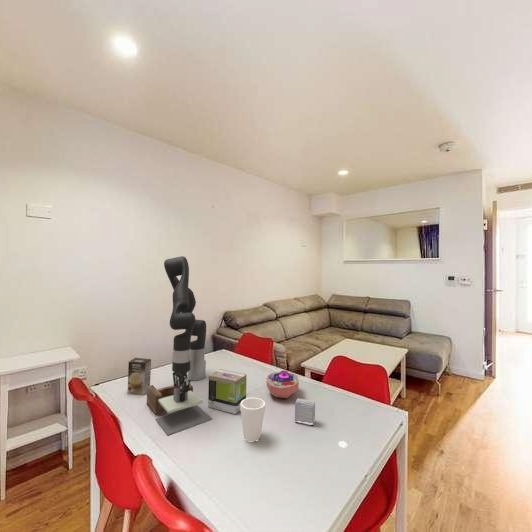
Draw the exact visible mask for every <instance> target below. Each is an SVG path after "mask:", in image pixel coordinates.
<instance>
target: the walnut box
mask: <svg viewBox="0 0 532 532" xmlns="http://www.w3.org/2000/svg"><path fill="white" fill-rule="evenodd" d="M182 385H183V384H182ZM174 388H176V387H174V384H172V385H169V386H165V387H161V388H160V387H159V388H156V387H155V386H154V385H151V384H150V386H147V393H146V406H147V407H148V409H149V410H150V411H151V412H152V414H153V415H154V416H156V417H157V416H160V415H162V414H166V413H168V412H167V411H166V410H165V409H164V408H163V407H162V405H161V404H160V403H159V402H158V399H162V398H165V397H169V396H172V395H174ZM188 391H192V392H193V393H194V386H193V385H192V384H191V383H190V386H189V389H188Z"/></svg>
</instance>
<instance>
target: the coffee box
mask: <svg viewBox="0 0 532 532" xmlns="http://www.w3.org/2000/svg"><path fill="white" fill-rule="evenodd" d="M151 370H152V359H151V358H144V357H143V358H142V357H141V358H140V357H133V359H131V360H130V361H128V370H127V373H128V374H127V394H131V395H139V396H140V395H141V396H145V395H147V386H151V372H152V371H151Z"/></svg>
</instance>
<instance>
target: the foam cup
mask: <svg viewBox="0 0 532 532" xmlns="http://www.w3.org/2000/svg"><path fill="white" fill-rule="evenodd" d="M265 411H266V402H265V400H263V399H261V398H260V397H246V399H244V400H242V401H241V403H240V415H241V417H240V418H241V424H242V433H243V434H242V435H243V440H244V439H246V440H247V441H256V440H258V439H259V438H260V439H261V436H262V435H261V434H262V428H263V421H264V415H265ZM247 441H246V442H247ZM258 441H259V440H258Z"/></svg>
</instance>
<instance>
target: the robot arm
mask: <svg viewBox="0 0 532 532" xmlns="http://www.w3.org/2000/svg"><path fill="white" fill-rule="evenodd" d="M163 265H164V267H163V268H164V270H165V272H166V275H167V278H168V280H169V282H170V285H171V287H172V290H173V292H172V312H171V315H170V317H169V319H170V320H169V326H170V329H171V330H174V331H178V330H180V331H181V330H185V331H184V332H182V333H179V334H177V335H175V336H174V337H173V350H172V364H171V366H172V367H171V370H172V378H173V380H172V381H173V385H174V387H176V388H178V387H179V388H180V400H179V401H180V402H183V401H185V393H186V392H188V389H189V386H190V384H191V381H200V380H203V379H204V378H206V371H207V370H206V367H207V361H206V359H205V358H206V357H205V354H206V351H205V349H206V348H205V346H206V337H207V323H206V321H205V320H204V319H196V316H195V314H194V313H193V311H194V310H195V307H196V304H197V301H196V297H195V294H194V291H193V290H192V289H191V288H190V287H189V284H190V283H189V282H190V281H189V280H190V278H189V277H190V265H189V262H188V259H187V257H186V256H182V255H181V256H177V257H173V258H172V257H170V258H167V259H165V260H164V262H163ZM178 276H179V277H180V278H178ZM192 336H193V337H197V338H196V339H195V340H193V341H192V339H191V338H192ZM182 384H183V385H182Z"/></svg>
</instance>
